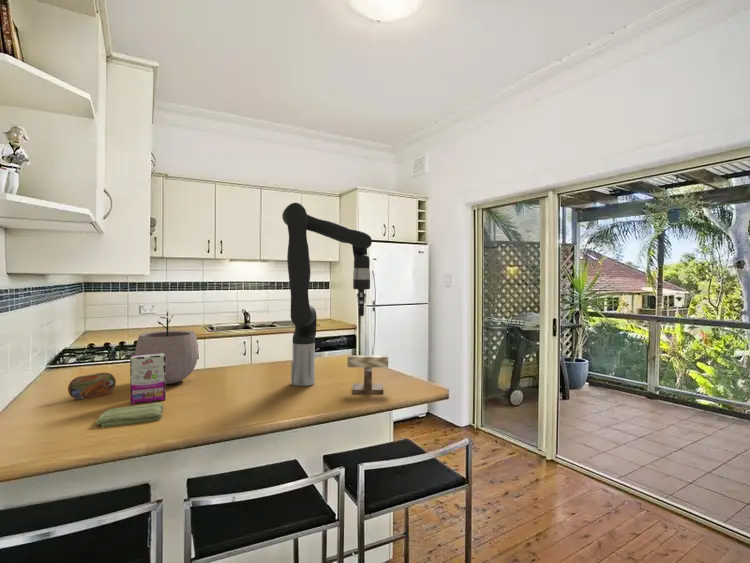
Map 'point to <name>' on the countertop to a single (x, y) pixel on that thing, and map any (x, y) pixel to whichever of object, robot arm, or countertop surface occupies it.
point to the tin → (91, 386)
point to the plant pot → (171, 351)
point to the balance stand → (367, 384)
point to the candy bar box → (147, 378)
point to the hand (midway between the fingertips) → (361, 315)
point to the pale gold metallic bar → (368, 361)
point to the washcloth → (131, 415)
